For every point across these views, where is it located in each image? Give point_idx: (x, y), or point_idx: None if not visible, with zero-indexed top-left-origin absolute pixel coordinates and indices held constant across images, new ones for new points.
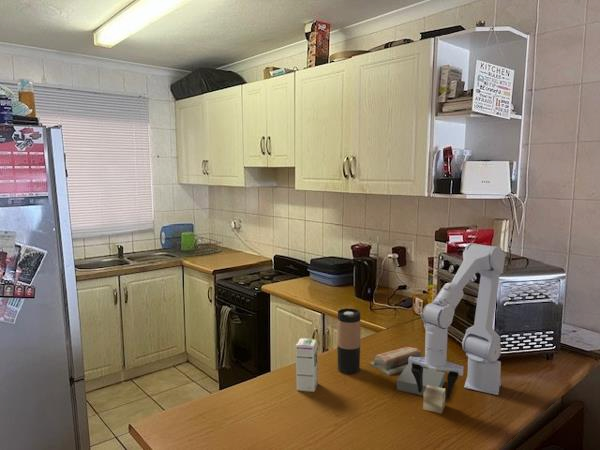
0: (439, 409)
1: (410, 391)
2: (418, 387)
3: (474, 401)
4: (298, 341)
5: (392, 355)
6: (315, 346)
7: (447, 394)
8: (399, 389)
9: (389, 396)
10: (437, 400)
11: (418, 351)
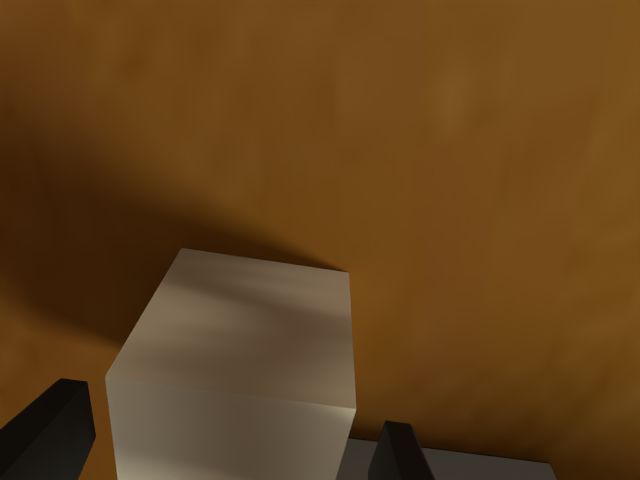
0: (192, 271)
1: (449, 460)
2: (426, 477)
3: None
4: None
5: None
6: None
7: (42, 422)
8: (531, 466)
9: (631, 377)
10: (188, 335)
11: None
